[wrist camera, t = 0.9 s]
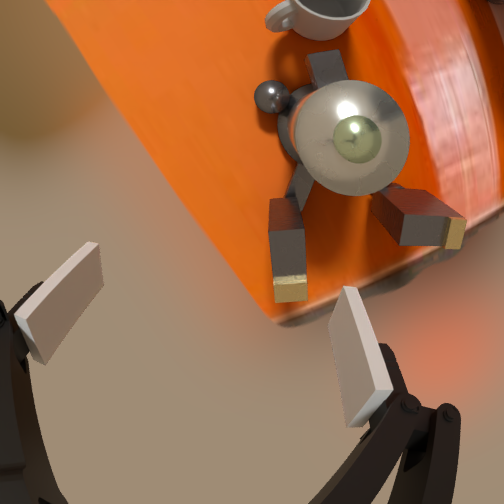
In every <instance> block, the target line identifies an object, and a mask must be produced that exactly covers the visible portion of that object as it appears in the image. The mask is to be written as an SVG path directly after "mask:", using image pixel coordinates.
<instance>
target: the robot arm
mask: <svg viewBox="0 0 504 504" xmlns="http://www.w3.org/2000/svg"><path fill="white" fill-rule="evenodd" d="M487 1H489V2H492V3H495V4H503V3H504V0H487ZM103 286H104V283H103V275H102V268H101V260H100V249H99V244H98V243H92V242H87V243H86V244H84V245H83V246H82V247H81V248H80V249H79V250H78V251H77V252H76V253H75V254H73V255H72V256H71V257H70V258H69V259H68V260H67V261H66V262H65V263H64V264H63V265H62V266H61V267H59V268H58V269H57V270H56V271H55V272H54V273H53V274H52V275H51V276H50V277H49V278H48V279H47V280H46V281H45V282H40V283H38V284H37V285H35V286H33V287H32V288H31V289H30V290H29V291H28V293H26V294H25V295H24V296H23V298H22V299H20V301H18V302H17V304H16V305H15V306H14V307H13V308H12V309H11V310H10V311H9V312H8V313H7V311H6V309H5V306H4V303H3V302H2V301H1V300H0V504H68V502H67V501H66V499H65V498H64V496H63V495H62V493H61V492H60V490H59V488H58V486H57V483H56V481H55V478H54V475H53V472H52V469H51V466H50V463H49V460H48V456H47V453H46V450H45V446H44V443H43V439H42V435H41V431H40V427H39V423H38V419H37V414H36V409H35V404H34V398H33V393H32V386H31V379H30V372H29V364H28V359H27V357H26V355H27V354H28V353H29V351H30V353H31V355H32V357H33V359H34V360H35V361H37V362H39V363H41V364H43V365H46V364H47V363H48V361H49V360H50V358H51V357H52V355H53V354H54V352H55V351H56V349H57V348H58V346H59V345H60V343H61V342H62V341H63V339H64V338H65V336H66V335H67V333H68V332H69V331H70V329H71V328H72V327H73V325H74V324H75V322H76V321H77V320H78V318H79V317H80V316H81V314H82V313H83V312H84V310H85V309H86V308H87V306H88V305H89V304H90V302H91V301H92V300H93V299H94V297H95V296H96V294H97V293H98V292H99V291H100V290H101V288H102V287H103ZM328 330H329V334H330V339H331V344H332V349H333V354H334V359H335V365H336V370H337V375H338V381H339V387H340V392H341V398H342V404H343V410H344V417H345V423H346V427H363V426H364V425H365V424H366V422H367V421H368V420H369V424H370V428H369V429H368V430H367V431H366V433H365V434H364V435H363V436H362V437H361V438H360V439H361V440H360V442H359V443H358V445H357V446H356V447H355V449H354V450H353V451H352V453H351V454H350V455H349V456H348V458H347V459H346V461H345V462H344V463H343V464H342V465H341V467H340V468H339V469H338V470H337V472H336V473H335V474H334V476H332V478H331V479H330V480H329V481H328V482H327V483H326V485H325V486H324V487H323V488H322V489H321V490H320V492H319V493H318V494H317V495H316V496H315V497H314V498H313V499H312V500H311V501H310V502H309V503H308V504H371V502H372V501H373V499H374V498H375V497H376V495H377V494H378V492H379V491H380V489H381V488H382V486H383V484H384V483H385V481H386V480H387V478H388V476H389V475H390V473H391V471H392V470H393V468H394V466H395V465H396V463H397V461H398V459H399V457H400V456H401V454H402V457H401V461H400V465H399V468H398V472H397V475H396V479H395V482H394V486H393V489H392V492H391V495H390V498H389V501H388V504H451V503H452V498H453V493H454V487H455V480H456V473H457V465H458V456H459V445H460V429H461V428H460V427H461V417H460V413H459V411H458V409H457V408H456V407H455V406H453V405H452V404H449V403H444V404H441V405H440V406H439V407H438V408H437V409H431V408H427V407H423V406H421V403H420V401H419V400H418V399H417V398H416V397H415V396H413V395H411V394H409V393H408V391H407V388H406V385H405V383H404V379H403V377H402V374H401V371H400V369H399V366H398V363H397V362H396V358H395V355H394V353H393V351H392V350H391V349H390V347H389V346H388V345H387V344H382V343H378V342H377V339H376V337H375V334H374V331H373V328H372V326H371V323H370V321H369V318H368V315H367V313H366V310H365V307H364V305H363V302H362V300H361V297H360V295H359V292H358V290H357V288H355V287H349V286H343V288H342V290H341V293H340V296H339V298H338V301H337V303H336V306H335V309H334V311H333V314H332V316H331V319H330V321H329V324H328ZM402 452H403V453H402Z"/></svg>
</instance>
